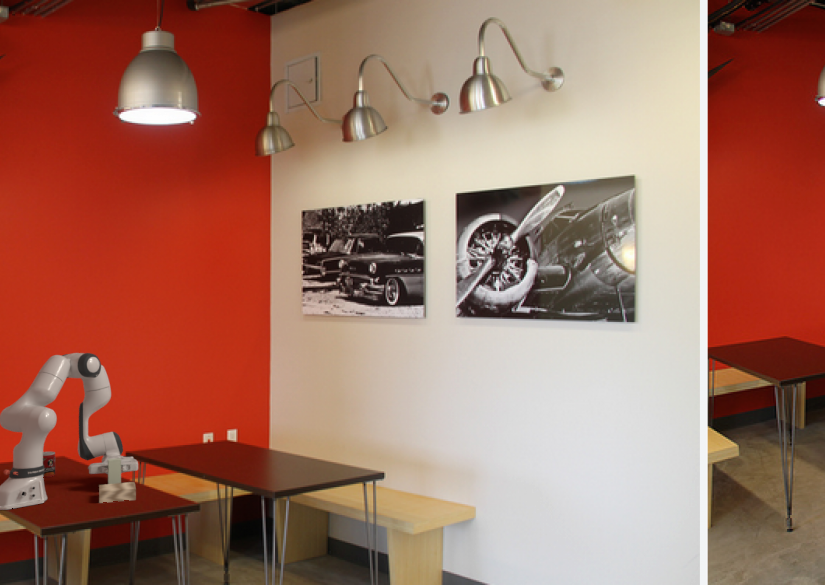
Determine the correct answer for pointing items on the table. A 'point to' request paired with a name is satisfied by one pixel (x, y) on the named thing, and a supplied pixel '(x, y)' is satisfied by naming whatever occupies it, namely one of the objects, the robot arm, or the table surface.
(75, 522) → the table surface
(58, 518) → the table surface
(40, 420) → the robot arm
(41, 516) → the table surface
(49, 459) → the canned food
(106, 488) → the birch slab
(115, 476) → the sage block
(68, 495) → the table surface
